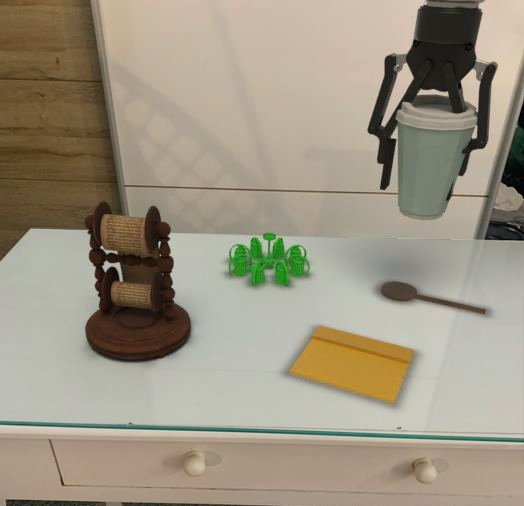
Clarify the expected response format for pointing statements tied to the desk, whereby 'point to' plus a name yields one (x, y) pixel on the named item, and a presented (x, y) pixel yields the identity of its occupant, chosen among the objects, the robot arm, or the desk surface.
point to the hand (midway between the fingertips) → (415, 192)
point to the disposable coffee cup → (430, 153)
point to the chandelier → (268, 260)
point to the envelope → (354, 363)
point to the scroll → (133, 287)
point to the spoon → (419, 296)
